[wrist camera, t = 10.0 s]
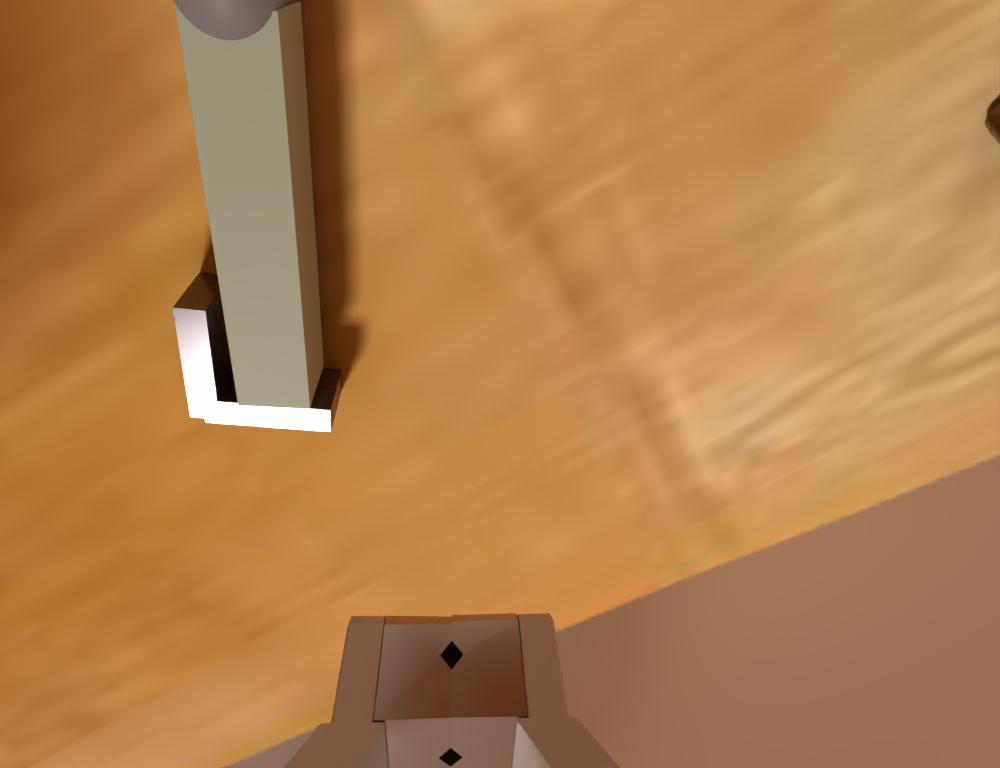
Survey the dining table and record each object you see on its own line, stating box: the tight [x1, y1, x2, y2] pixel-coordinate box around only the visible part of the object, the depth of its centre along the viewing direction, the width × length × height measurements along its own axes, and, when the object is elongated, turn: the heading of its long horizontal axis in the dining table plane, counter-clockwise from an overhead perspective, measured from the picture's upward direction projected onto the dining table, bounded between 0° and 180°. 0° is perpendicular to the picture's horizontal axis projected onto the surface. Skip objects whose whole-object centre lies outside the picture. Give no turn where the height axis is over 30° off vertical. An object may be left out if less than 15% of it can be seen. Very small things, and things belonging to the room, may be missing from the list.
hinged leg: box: [174, 0, 324, 409], centre depth 20 cm, size 14×2×3 cm, turn 174°
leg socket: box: [173, 273, 341, 432], centre depth 23 cm, size 5×5×3 cm
